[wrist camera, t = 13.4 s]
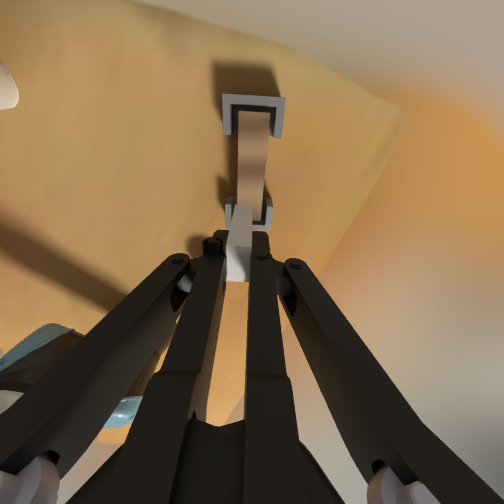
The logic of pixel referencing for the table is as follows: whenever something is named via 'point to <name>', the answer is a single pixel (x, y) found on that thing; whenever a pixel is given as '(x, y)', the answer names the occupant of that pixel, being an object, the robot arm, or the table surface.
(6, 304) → the table surface
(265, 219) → the cap
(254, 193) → the slat
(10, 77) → the foam cup
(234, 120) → the cap
